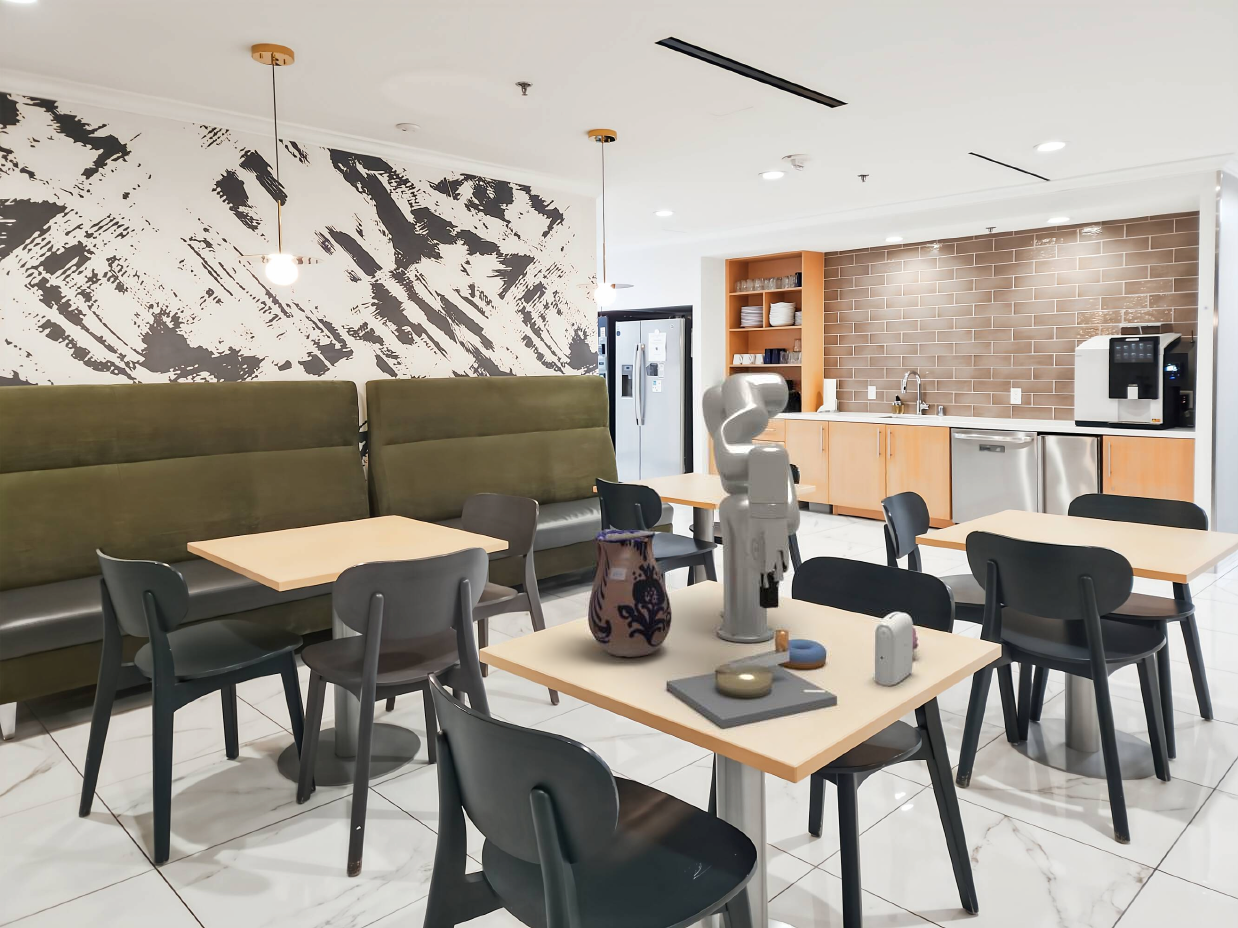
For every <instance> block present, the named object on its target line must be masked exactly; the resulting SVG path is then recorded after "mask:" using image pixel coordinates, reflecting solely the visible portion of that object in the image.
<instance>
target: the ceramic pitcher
mask: <svg viewBox="0 0 1238 928" xmlns="http://www.w3.org/2000/svg"><path fill="white" fill-rule="evenodd" d="M655 535H656V532H654V531H646V530H641V529H639V530H638V529H637V530H632V529H630V530H626V529H625V530H617V529H615V530H614V529H608V528H606V529H604V530H601V531H600V532H599V533H597V534H596V535H595V537H594V539H595V540H596V543H595V544H596V556H597V561H598V566H597V569H596V575H595V577H594V581H593V584H592V589H591V593H590V596H589V601H588V612H587V614H588V615H587V620H588V627H589V630H590V632H591V634H592V636H593V637H594V639H595V641H596V642H597V644H599V646H600V647H601V648H602V649H603V650H605V651H606V652H608V653H609V654H611V655H612V654H613V656H615V655H616V656H615V657H621V656H622V657H623V656H625V657H626V658H634V657H635V658H637V657H642V656H648V655H650V654H652V653H654V652H655V651H657V649H659V647H661V646H662V645H663V644H664V642H665V640H666V639H667V637H668V634H669V632H670V629H671V624H672V616H673V615H672V607H671V603H670V598H669V595H668V592H667V589H666V585H665V583H664V580H663V577H662V574H661V572H660V569H659V566H658V564H657V560H656V558H655V555H654V551H653V539H654V537H655Z"/></svg>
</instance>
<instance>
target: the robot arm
mask: <svg viewBox="0 0 1238 928" xmlns="http://www.w3.org/2000/svg"><path fill="white" fill-rule="evenodd" d="M701 402H702V404H701V405H702V406H701V407H702V415H703V420H704V423H705V427H706V429H707V431H708V434H709V436H710V437H711V439H712V442H713V446H712V449H713V457H714V462H715V467H716V471H717V474H718V475H719V477H720V483H721V487H722V489H723V491H724V492H725V493H726V494H727V495H728V496H725V497H724V498H723V499H721V501H720V503H719V504H718V505H719V506H718V521H719V525H720V526H719V527H720V532H721V541H722V558H723V559H722V560H723V561H722V565H723V567H722V568H723V571H722V572H723V611H722V610H721V611H720V612H719V613H718V616H719V617H720V618H721V619H722V624H721V625H719V626H718V627H717V628H716V635H717V636H718V637H719V638H720V639H723V640H725V641H728V642H729V641H730V642H735V643H748V644H749V643H750V644H751V643H759V642H760V643H761V642H765V641H770V640H771V639H772V638H773V637H774V636H775V629H774V628H773V627H771V626H769V625H768V609H773V608H774V609H777V608H778V607H779V603H780V602H779V588H780V582H783V581H784V579H785V576H784V574H786V573H787V572H788V571H789V568H790V567H789V566H790V548H789V547H790V545H789V544H790V543H789V536H792V535H794V534H796V532H798V530H799V527H800V524H801V512H800V507H799V502H798V497H797V490H796V487H795V482H794V477H793V471H792V468H791V464H790V456H789V455H790V454H789V452H788V449H786V447H784V446H783V445H782V444H780V443H775V442H762V443H760V442H758V443H756V442H753V439H756V438H757V437H758V436H760V435H762V434H763V433H764V432H765V431H766V429H767V428H768V425H769V422H770V420H771V419H773V418H775V417H777V416H778V415H779V414H781V413H782V412H783V411H784V410H785V408H786V407H787V404H788V402H789V388H788V383H787V381H786V379H785V378H784V377H783V376H782V375H781V374H780V373H777V372H742V373H735V374H732V375H730V376H728V377H727V378H725V380H724V381H723V383H722V384H716V385H713V386H711V387H709V388H707V389H706V390H705V391H704V392H703V395H702V401H701Z"/></svg>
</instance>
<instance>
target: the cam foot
mask: <svg viewBox="0 0 1238 928" xmlns="http://www.w3.org/2000/svg"><path fill="white" fill-rule="evenodd" d="M789 635H790V634H789V630H786V629H777V630H774V636H775V639H774V641H775V643H774V644H775V645H774V647H775V649H773V650H769V651H765V652H761V653H758V654H754V655H750V656H746V657H743V658H738V659H734V660H731V661H729V662H727V663H724V664H720V665H719V666H717V667H716V668H715V671H714V673H715V685H716V689H717V691H719V692H720V693H722V694H725V695H728V696H732V697H739V698H753V697H760V696H764V695H766V694H768V693H770V692H771V691H772V671H771V669H770V668H768V667H769V666H773V665H779V664H781V663H783V662H787V661H789V640H790V638H789V637H790V636H789Z"/></svg>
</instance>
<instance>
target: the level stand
mask: <svg viewBox="0 0 1238 928" xmlns="http://www.w3.org/2000/svg"><path fill="white" fill-rule="evenodd" d="M768 668H770V669H771V671H772V691H771V692H770V693H768V694H766V695H764V696H760V697H753V698H739V697H732V696H728V695H725V694H722V693H720V692H719V691H717V689H716V685H715V672H712V673H706V674H700V675H695V676H689V677H684V678H678V679H673V680H666V690H667V689H668V690H669V691H668V690H667V691H668V692H670V693H671V692H672V693H671V694H672V695H674V694H675V695H676V696H675V695H674V696H675V697H677V696H678V697H679V698H678V697H677V698H678V699H679V700H681V699H682V700H681V701H683V702H684V701H685V702H686V703H685V702H684V703H685V704H687V705H688V704H689V705H688V706H689V707H691V708H693V709H694V710H695V709H696V710H695V711H697V712H699V713H700V714H701V713H702V714H701V715H703V716H704V717H705V716H706V717H705V718H707V719H708V720H710V721H712V722H713V723H714V724H715V725H717V726H719V727H720V728H721V729H727V728H728V729H729V728H733V727H736V726H737V727H738V726H741V725H747V724H750V723H755V722H760V721H766V720H769V719H775V718H780V717H784V716H789V715H790V716H791V715H793V714H798V713H802V712H803V713H804V712H807V711H813V710H817V709H821V708H822V709H823V708H827V707H831V706H837V705H838V695H836V694H833V693H832V692H830V691H828V690H825V689H824V688H822V687H820V686H818V685H816V684H814V683H812V682H810V681H808V680H807V679H804V678H802V677H800V676H798V675H796V674H794V673H792V672H791V671H789V670H787V669H785V668H783V667H781V666H779V665H778V664H776V665H773V666H769V667H768Z"/></svg>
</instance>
